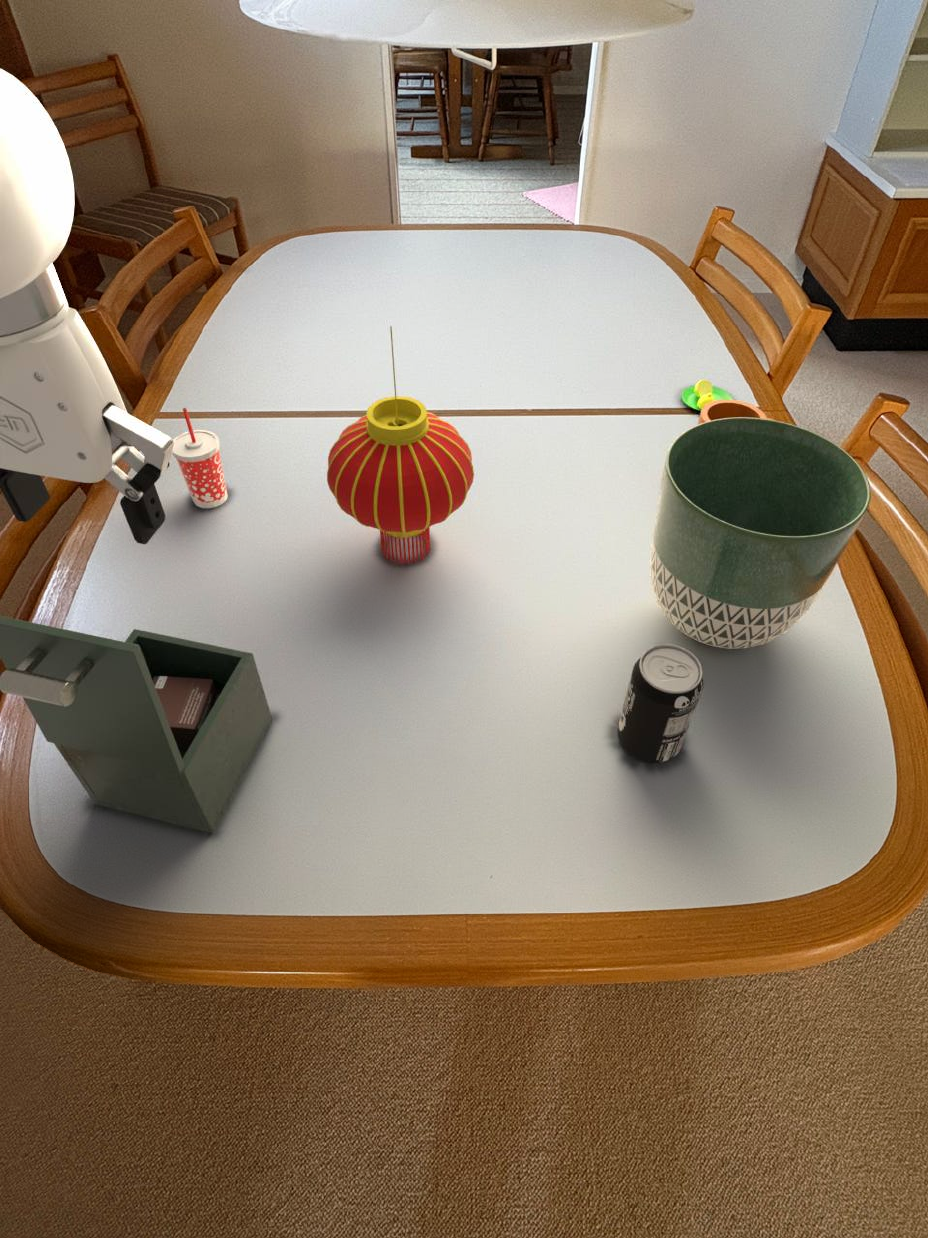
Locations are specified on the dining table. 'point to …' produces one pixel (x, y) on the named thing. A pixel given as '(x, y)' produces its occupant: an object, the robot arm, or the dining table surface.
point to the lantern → (400, 471)
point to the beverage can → (660, 703)
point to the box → (185, 706)
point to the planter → (750, 527)
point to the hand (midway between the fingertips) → (92, 520)
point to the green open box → (210, 756)
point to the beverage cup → (201, 465)
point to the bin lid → (87, 692)
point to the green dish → (703, 394)
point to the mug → (729, 410)
